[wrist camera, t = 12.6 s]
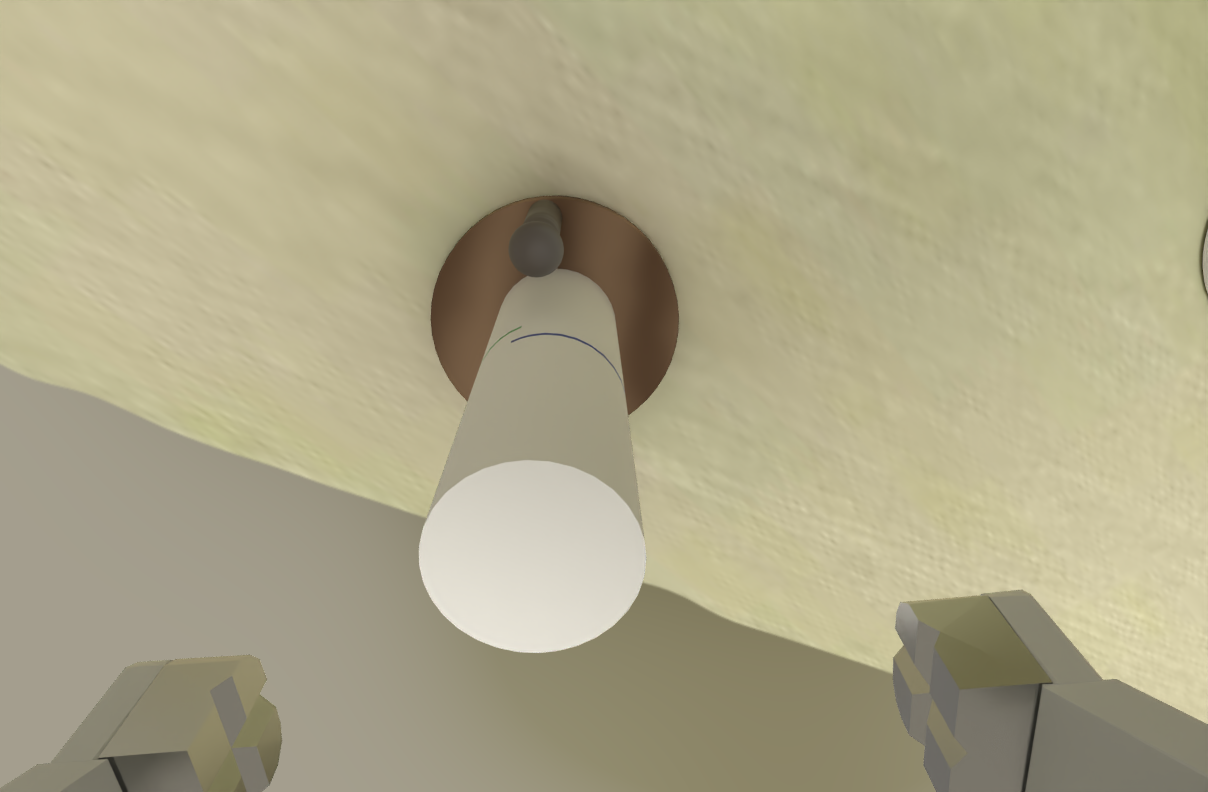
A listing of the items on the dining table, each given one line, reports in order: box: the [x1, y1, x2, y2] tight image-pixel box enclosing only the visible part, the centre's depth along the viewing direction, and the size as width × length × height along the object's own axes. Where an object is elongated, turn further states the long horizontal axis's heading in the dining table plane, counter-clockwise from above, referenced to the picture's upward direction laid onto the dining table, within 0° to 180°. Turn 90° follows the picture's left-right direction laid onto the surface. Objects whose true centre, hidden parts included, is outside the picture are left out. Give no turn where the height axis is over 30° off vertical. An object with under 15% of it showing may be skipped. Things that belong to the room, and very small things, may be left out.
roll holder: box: [431, 196, 679, 415], centre depth 44 cm, size 15×16×12 cm
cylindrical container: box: [419, 269, 646, 653], centre depth 36 cm, size 7×7×25 cm
